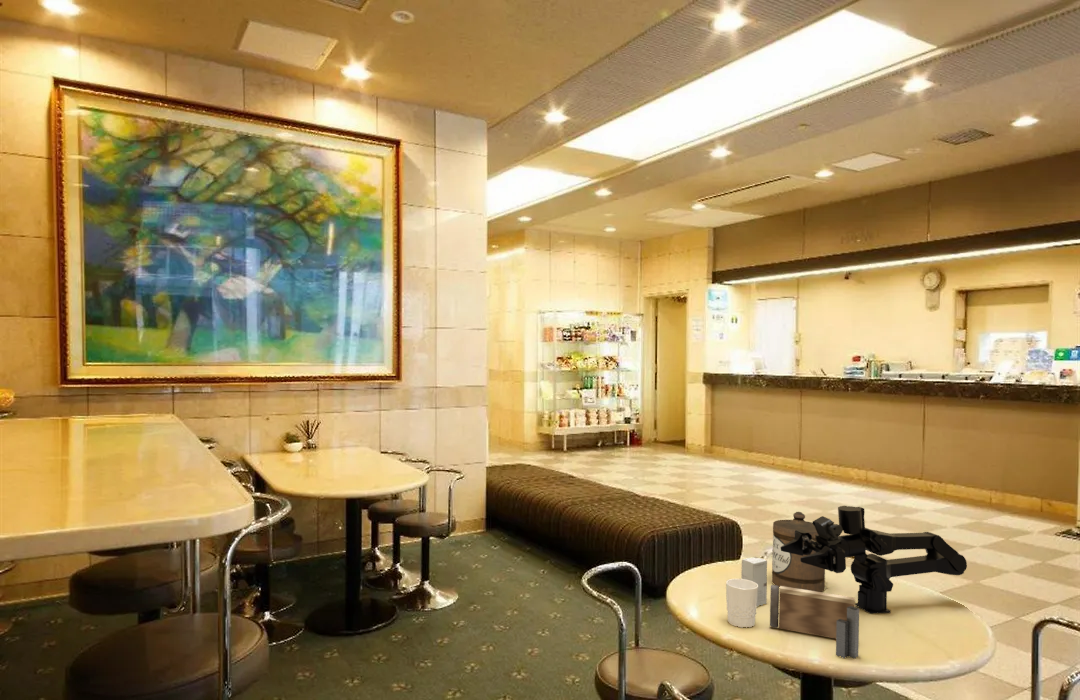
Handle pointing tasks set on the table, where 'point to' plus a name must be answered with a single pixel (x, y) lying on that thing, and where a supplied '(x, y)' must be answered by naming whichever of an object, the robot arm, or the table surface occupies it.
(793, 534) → the wooden container
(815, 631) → the gate leaf
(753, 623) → the white cup
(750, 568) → the skincare box
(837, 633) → the post
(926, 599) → the table surface
